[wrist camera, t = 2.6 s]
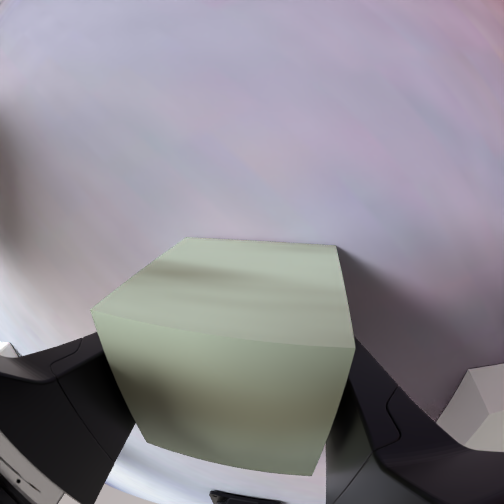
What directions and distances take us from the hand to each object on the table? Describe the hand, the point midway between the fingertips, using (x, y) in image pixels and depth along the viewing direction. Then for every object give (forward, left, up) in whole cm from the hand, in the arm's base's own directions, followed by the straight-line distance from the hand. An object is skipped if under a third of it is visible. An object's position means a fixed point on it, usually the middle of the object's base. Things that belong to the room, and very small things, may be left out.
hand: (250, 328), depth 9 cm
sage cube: (0, 0, -1) cm, 1 cm away
